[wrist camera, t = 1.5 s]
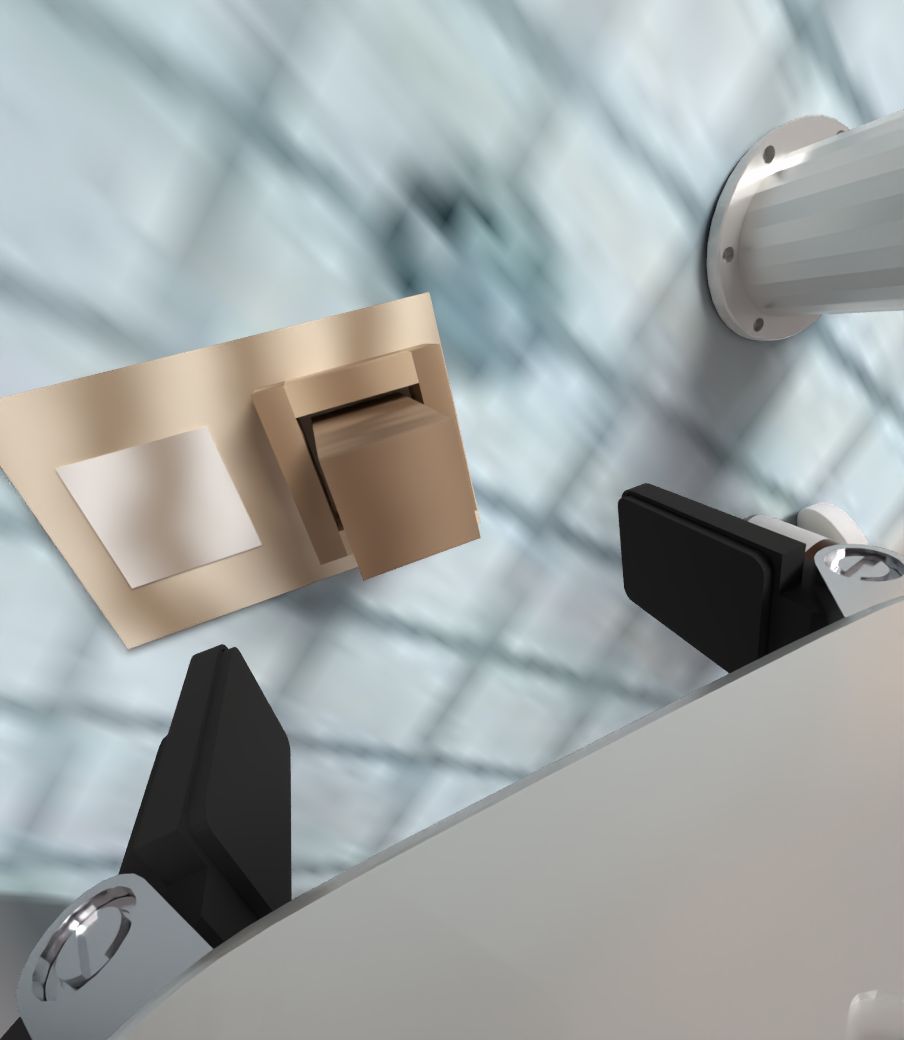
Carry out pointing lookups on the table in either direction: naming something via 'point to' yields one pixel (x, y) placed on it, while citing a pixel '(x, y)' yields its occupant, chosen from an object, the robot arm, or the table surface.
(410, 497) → the walnut block
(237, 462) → the pocket board
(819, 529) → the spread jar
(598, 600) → the table surface
